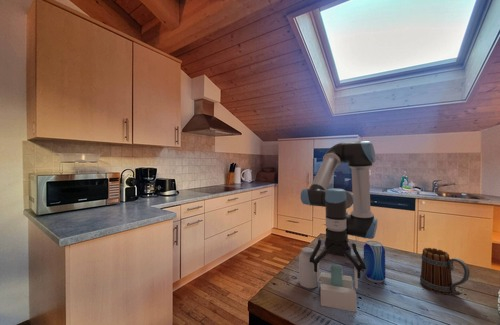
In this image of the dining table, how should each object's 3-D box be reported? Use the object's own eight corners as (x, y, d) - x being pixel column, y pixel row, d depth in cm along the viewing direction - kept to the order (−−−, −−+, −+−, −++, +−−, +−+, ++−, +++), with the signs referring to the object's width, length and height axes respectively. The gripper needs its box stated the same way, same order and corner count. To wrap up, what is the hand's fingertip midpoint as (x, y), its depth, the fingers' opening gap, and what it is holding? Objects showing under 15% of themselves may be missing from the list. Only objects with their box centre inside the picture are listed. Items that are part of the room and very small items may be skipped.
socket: (320, 285, 90) (320, 271, 90) (351, 291, 86) (351, 276, 86) (320, 305, 77) (320, 288, 77) (356, 312, 74) (356, 295, 74)
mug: (414, 283, 91) (413, 248, 91) (429, 278, 95) (428, 245, 95) (461, 305, 76) (460, 264, 76) (476, 298, 80) (475, 259, 80)
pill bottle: (303, 290, 87) (303, 253, 87) (296, 279, 95) (296, 246, 95) (321, 288, 88) (321, 252, 88) (312, 277, 96) (312, 245, 96)
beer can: (388, 284, 90) (388, 247, 90) (367, 282, 92) (367, 246, 92) (380, 274, 98) (380, 240, 98) (361, 272, 100) (361, 239, 100)
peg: (331, 293, 84) (330, 263, 84) (341, 295, 83) (341, 265, 83) (331, 300, 80) (331, 268, 80) (342, 302, 79) (342, 270, 79)
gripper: (302, 228, 82) (303, 282, 82) (374, 234, 74) (375, 294, 74) (303, 223, 89) (304, 273, 89) (369, 228, 81) (370, 283, 81)
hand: (336, 283), depth 82 cm, fingers open, 13 cm apart
